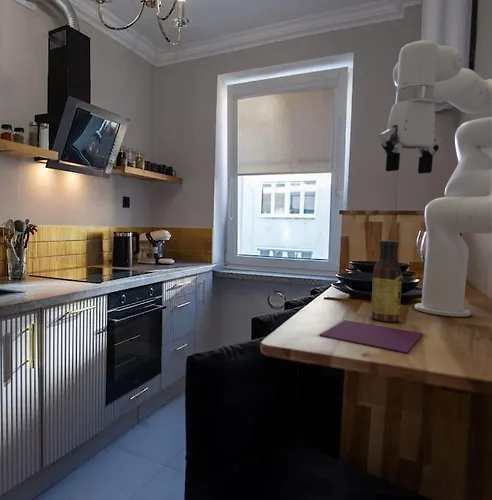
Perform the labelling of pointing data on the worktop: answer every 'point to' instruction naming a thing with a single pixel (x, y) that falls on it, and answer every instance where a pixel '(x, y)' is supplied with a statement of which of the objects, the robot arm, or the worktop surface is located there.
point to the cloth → (374, 336)
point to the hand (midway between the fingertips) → (408, 171)
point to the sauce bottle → (387, 284)
